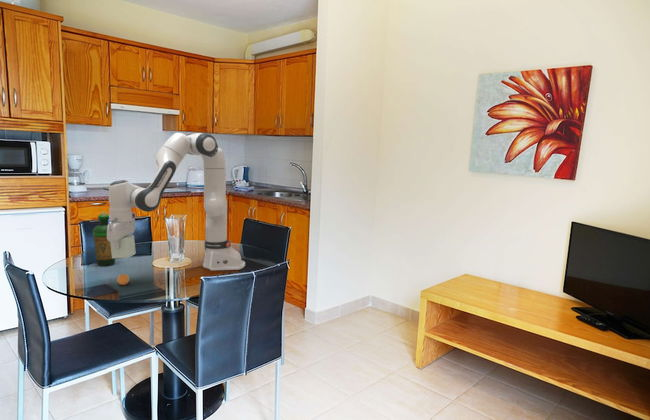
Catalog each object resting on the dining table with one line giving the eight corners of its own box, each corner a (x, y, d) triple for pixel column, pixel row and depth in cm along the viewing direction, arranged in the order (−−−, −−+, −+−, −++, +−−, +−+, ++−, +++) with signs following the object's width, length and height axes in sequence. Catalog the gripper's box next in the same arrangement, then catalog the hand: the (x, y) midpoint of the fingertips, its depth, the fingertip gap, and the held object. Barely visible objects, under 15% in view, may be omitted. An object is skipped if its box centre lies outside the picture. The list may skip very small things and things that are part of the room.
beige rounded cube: (135, 253, 191) (133, 235, 190) (128, 257, 184) (126, 238, 183) (119, 253, 191) (117, 235, 190) (112, 258, 184) (110, 239, 182)
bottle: (101, 268, 212) (99, 215, 208) (90, 264, 218) (87, 212, 213) (121, 263, 221) (119, 212, 217) (110, 260, 227) (107, 210, 222)
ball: (119, 273, 191) (121, 283, 192) (114, 276, 187) (115, 286, 187) (130, 272, 192) (131, 282, 192) (125, 275, 187) (127, 286, 187)
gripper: (116, 221, 175) (118, 252, 177) (137, 213, 195) (138, 241, 197) (101, 220, 174) (103, 252, 177) (123, 212, 195) (124, 241, 197)
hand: (122, 246), depth 187 cm, fingers closed on beige rounded cube, 7 cm apart
